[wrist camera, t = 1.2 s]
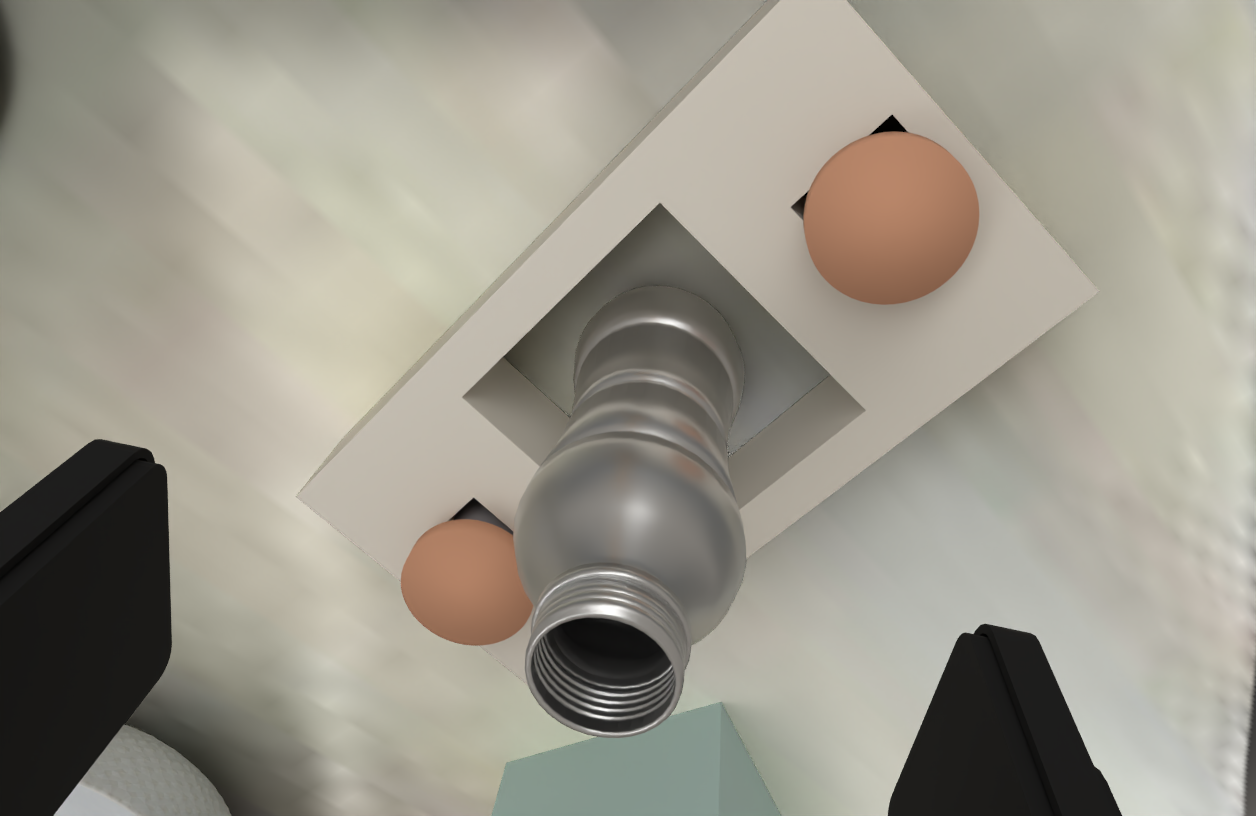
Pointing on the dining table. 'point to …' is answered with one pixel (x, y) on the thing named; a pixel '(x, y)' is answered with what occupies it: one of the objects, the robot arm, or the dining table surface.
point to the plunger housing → (758, 259)
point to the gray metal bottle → (634, 515)
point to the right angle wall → (642, 774)
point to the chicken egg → (466, 579)
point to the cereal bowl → (143, 782)
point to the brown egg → (890, 218)
